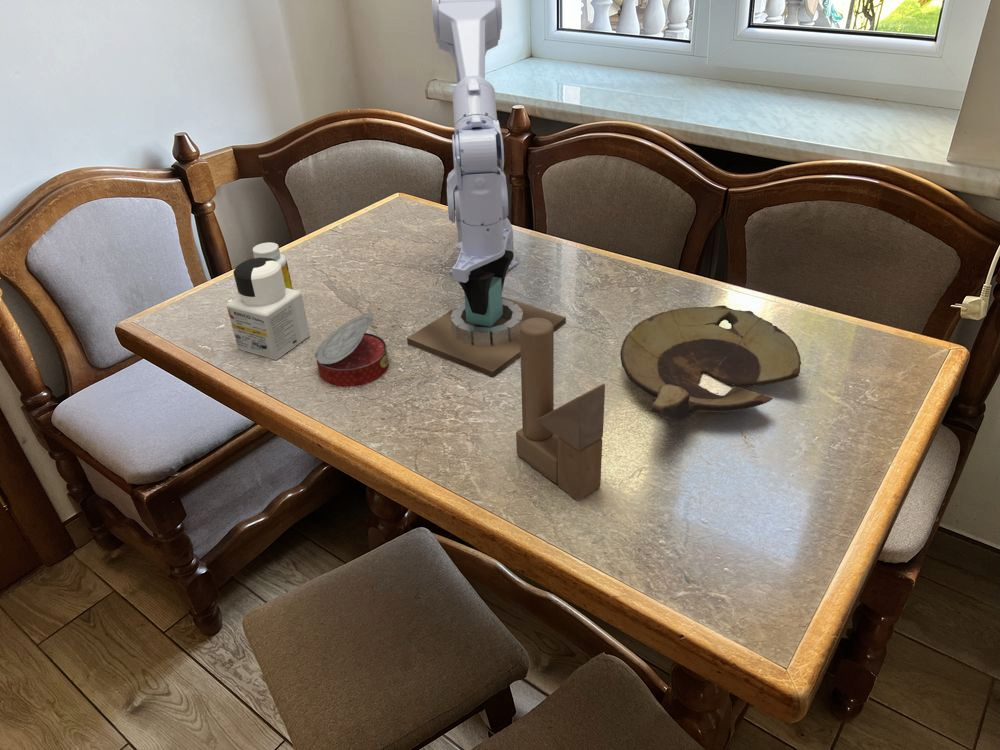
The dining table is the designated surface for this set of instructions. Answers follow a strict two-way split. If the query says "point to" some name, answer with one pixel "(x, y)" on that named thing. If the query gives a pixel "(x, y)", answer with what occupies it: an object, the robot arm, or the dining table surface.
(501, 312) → the teal peg
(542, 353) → the wooden block
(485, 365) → the walnut board
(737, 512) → the dining table surface
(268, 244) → the supplement bottle
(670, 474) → the dining table surface
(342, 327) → the canned food
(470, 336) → the steel collar
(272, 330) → the container
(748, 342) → the broken plate
